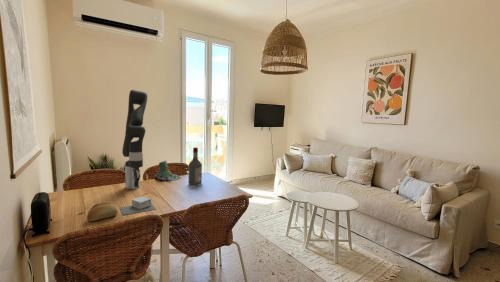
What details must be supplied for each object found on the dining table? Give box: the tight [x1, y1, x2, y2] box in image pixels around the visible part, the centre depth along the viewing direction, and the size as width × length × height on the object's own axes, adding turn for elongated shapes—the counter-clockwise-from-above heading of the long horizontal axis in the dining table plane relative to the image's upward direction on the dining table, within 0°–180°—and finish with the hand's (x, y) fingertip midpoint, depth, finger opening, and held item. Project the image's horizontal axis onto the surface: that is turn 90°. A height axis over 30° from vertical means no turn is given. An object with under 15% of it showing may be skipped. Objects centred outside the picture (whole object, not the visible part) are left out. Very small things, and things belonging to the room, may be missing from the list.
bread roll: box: [86, 202, 118, 222], centre depth 136 cm, size 10×15×8 cm, turn 139°
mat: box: [119, 202, 157, 216], centre depth 151 cm, size 12×18×1 cm, turn 125°
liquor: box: [187, 146, 203, 186], centre depth 201 cm, size 9×9×30 cm
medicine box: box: [131, 195, 152, 209], centre depth 154 cm, size 8×4×9 cm
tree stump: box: [155, 160, 181, 182], centre depth 214 cm, size 18×20×18 cm
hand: (136, 186), depth 151 cm, fingers closed
